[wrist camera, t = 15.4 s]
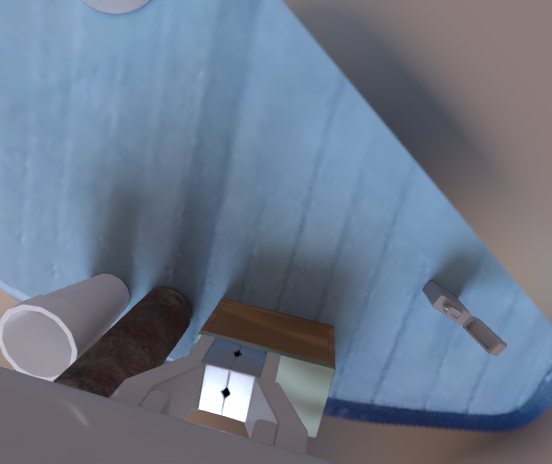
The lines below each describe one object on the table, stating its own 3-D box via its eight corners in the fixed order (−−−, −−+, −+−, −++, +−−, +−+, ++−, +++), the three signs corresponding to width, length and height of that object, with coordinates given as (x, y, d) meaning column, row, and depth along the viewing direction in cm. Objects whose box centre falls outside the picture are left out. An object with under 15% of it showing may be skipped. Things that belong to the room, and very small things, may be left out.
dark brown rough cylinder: (205, 307, 48) (125, 416, 29) (179, 343, 50) (88, 467, 31) (159, 275, 48) (49, 364, 29) (135, 313, 50) (17, 419, 31)
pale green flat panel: (315, 432, 41) (315, 438, 40) (190, 397, 42) (187, 402, 42) (335, 364, 38) (335, 369, 38) (200, 329, 40) (198, 333, 39)
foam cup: (102, 249, 48) (23, 287, 36) (152, 294, 49) (92, 346, 36) (67, 293, 51) (-17, 342, 38) (115, 335, 52) (48, 396, 39)
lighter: (421, 290, 43) (442, 322, 36) (430, 279, 43) (453, 310, 35) (468, 321, 44) (498, 360, 36) (477, 311, 43) (510, 348, 35)
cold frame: (318, 383, 49) (316, 429, 41) (211, 355, 50) (190, 394, 42) (333, 326, 46) (335, 364, 38) (221, 298, 48) (200, 329, 40)
